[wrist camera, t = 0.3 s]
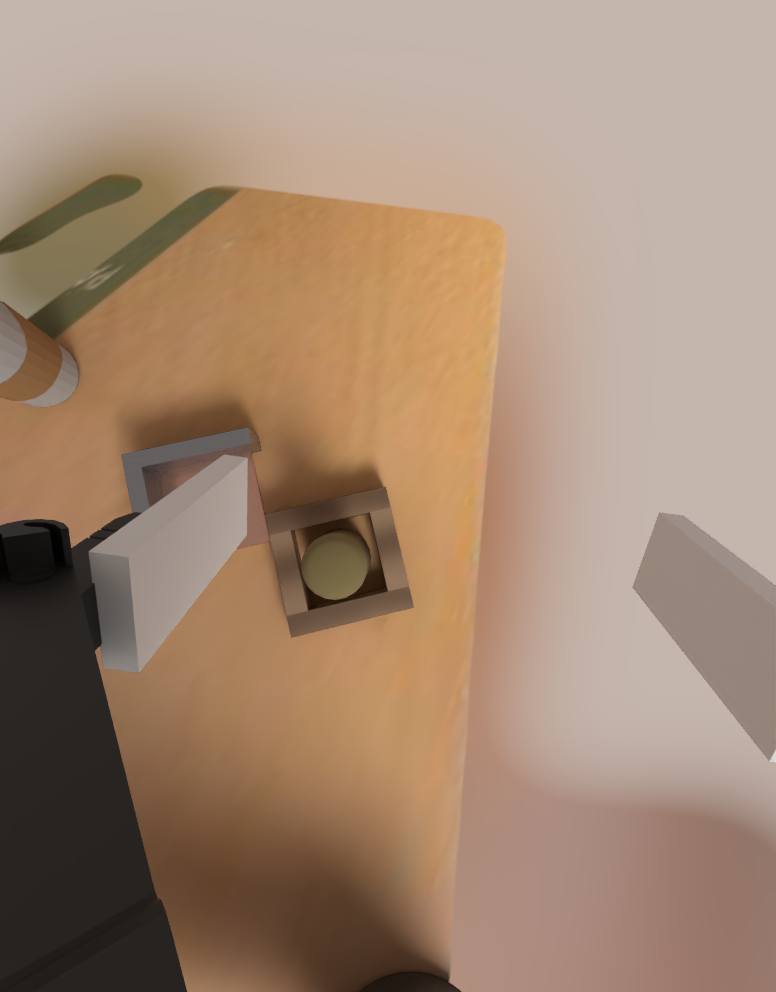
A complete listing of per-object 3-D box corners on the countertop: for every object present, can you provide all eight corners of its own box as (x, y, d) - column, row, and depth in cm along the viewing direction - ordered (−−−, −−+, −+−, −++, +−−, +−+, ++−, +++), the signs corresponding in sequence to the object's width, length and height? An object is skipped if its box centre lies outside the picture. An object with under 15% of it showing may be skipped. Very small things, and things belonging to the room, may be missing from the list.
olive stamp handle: (320, 521, 47) (306, 518, 36) (378, 538, 47) (383, 540, 36) (302, 580, 46) (282, 595, 35) (361, 597, 46) (360, 617, 36)
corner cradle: (282, 548, 46) (275, 550, 42) (165, 576, 46) (146, 580, 42) (258, 436, 47) (248, 427, 43) (142, 461, 46) (121, 454, 42)
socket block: (411, 603, 47) (413, 607, 44) (295, 631, 46) (291, 637, 43) (384, 489, 47) (385, 486, 45) (270, 515, 47) (264, 514, 44)
